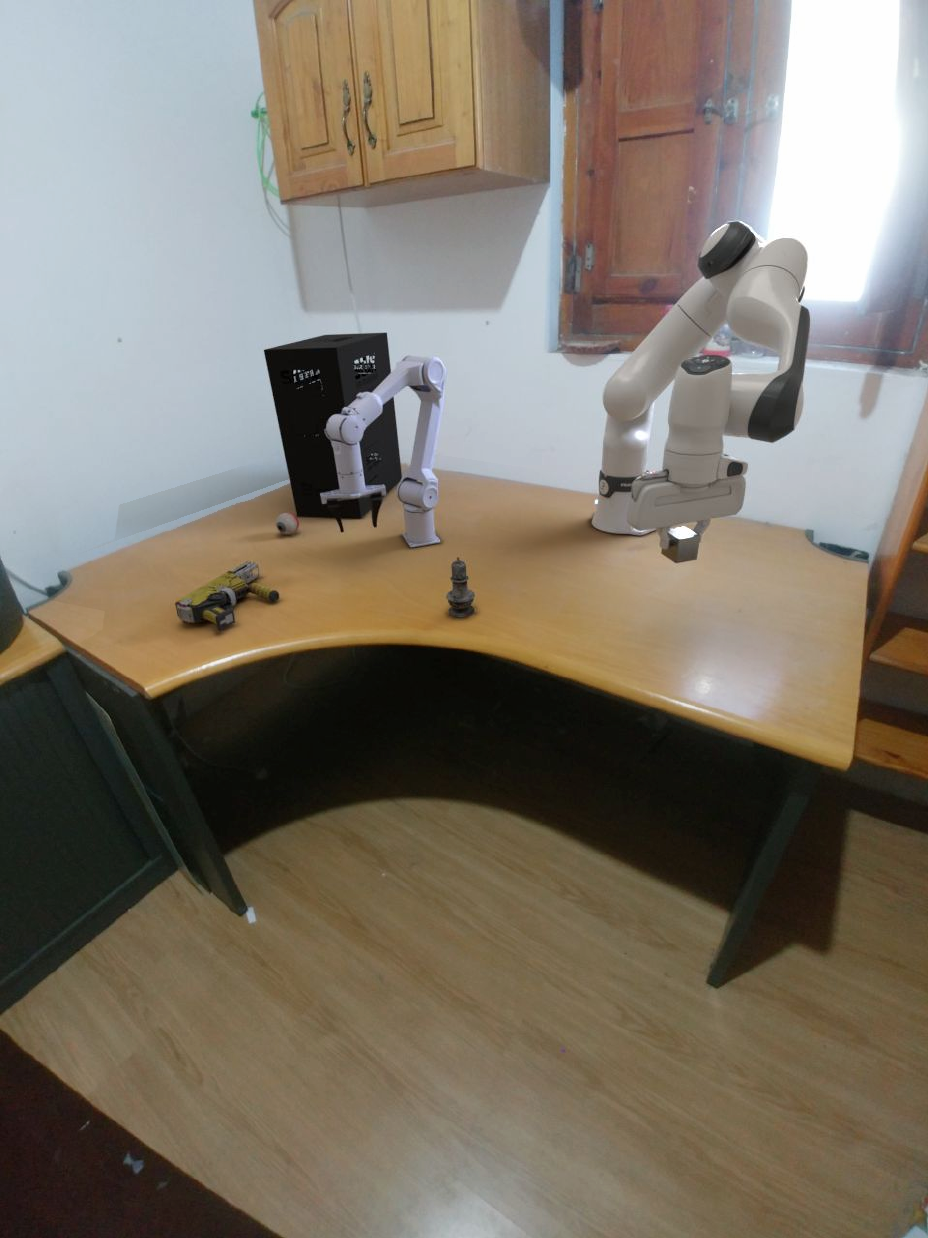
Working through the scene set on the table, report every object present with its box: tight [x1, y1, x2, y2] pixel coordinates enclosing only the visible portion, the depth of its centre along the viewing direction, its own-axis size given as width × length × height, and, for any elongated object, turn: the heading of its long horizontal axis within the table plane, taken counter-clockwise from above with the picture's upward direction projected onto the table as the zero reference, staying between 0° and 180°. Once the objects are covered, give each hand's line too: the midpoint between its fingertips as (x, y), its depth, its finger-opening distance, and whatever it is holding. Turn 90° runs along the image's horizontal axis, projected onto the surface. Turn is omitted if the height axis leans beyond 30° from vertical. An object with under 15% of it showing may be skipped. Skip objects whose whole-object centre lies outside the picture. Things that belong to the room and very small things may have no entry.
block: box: [660, 526, 700, 564], centre depth 104 cm, size 4×5×4 cm
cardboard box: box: [263, 332, 403, 519], centre depth 180 cm, size 38×20×45 cm, turn 167°
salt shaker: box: [445, 556, 476, 618], centre depth 120 cm, size 6×6×12 cm
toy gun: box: [174, 560, 280, 631], centre depth 130 cm, size 5×24×15 cm
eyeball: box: [275, 511, 300, 536], centre depth 163 cm, size 6×6×6 cm
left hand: (358, 528), depth 141 cm, fingers open, 7 cm apart
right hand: (680, 545), depth 104 cm, fingers closed on block, 4 cm apart
